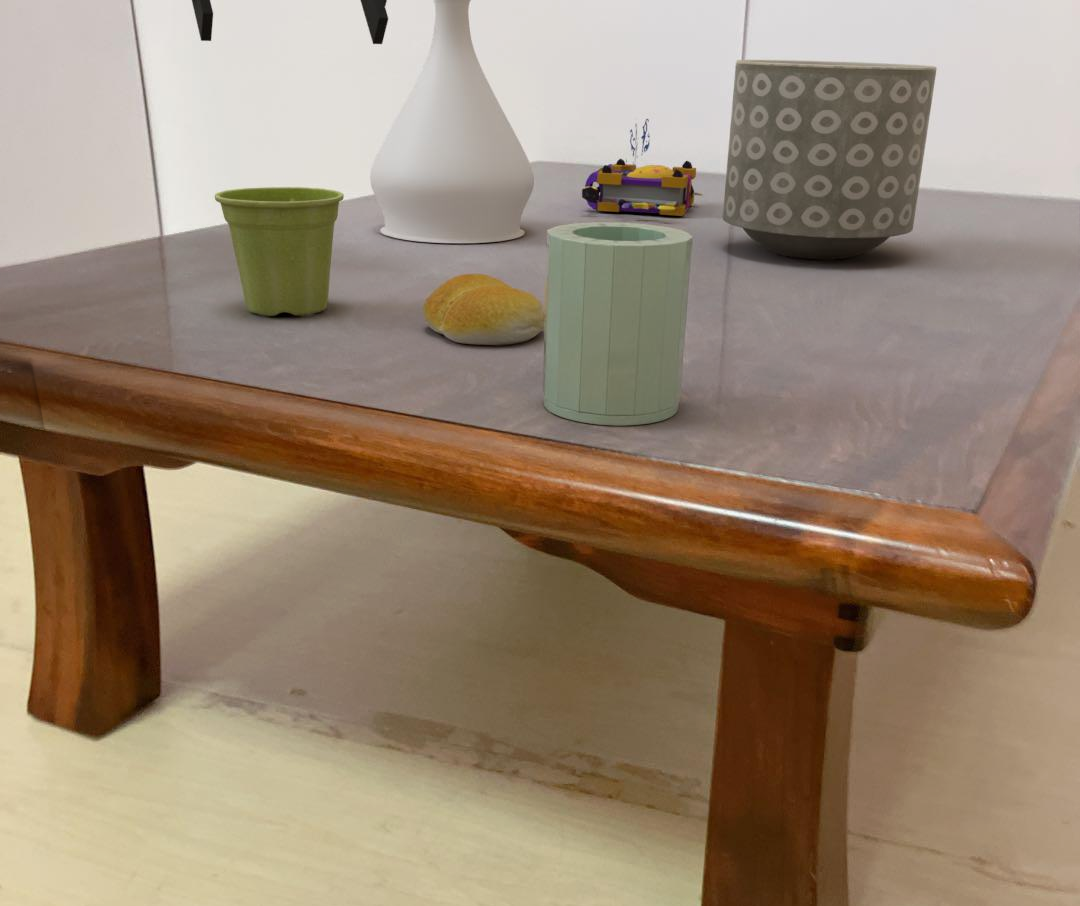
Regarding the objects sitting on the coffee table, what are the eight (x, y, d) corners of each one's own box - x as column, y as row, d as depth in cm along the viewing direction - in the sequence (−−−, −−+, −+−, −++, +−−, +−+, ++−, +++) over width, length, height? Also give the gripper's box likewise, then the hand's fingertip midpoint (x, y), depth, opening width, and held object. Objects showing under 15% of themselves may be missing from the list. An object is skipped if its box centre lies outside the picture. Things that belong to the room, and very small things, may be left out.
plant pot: (197, 310, 90) (187, 193, 86) (288, 292, 97) (281, 182, 93) (284, 329, 85) (277, 205, 81) (373, 308, 92) (369, 193, 89)
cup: (548, 425, 66) (554, 243, 62) (538, 386, 73) (542, 221, 69) (690, 426, 66) (704, 246, 62) (665, 386, 74) (677, 223, 70)
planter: (757, 232, 133) (774, 59, 126) (927, 250, 125) (956, 66, 117) (691, 255, 118) (706, 60, 111) (879, 278, 109) (909, 68, 102)
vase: (400, 249, 117) (394, -30, 107) (352, 223, 131) (343, -25, 121) (559, 241, 124) (567, -22, 114) (496, 217, 138) (499, -18, 128)
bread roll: (467, 353, 80) (467, 294, 78) (409, 325, 87) (408, 271, 85) (569, 340, 84) (570, 283, 82) (505, 314, 91) (506, 262, 89)
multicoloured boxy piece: (564, 217, 140) (568, 108, 135) (601, 192, 162) (606, 98, 157) (687, 225, 137) (695, 113, 132) (707, 198, 159) (715, 102, 154)
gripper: (380, -119, 106) (437, 66, 100) (86, -141, 97) (128, 63, 90) (396, -197, 100) (458, -4, 93) (83, -228, 90) (128, -15, 84)
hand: (296, 29), depth 92 cm, fingers open, 13 cm apart
